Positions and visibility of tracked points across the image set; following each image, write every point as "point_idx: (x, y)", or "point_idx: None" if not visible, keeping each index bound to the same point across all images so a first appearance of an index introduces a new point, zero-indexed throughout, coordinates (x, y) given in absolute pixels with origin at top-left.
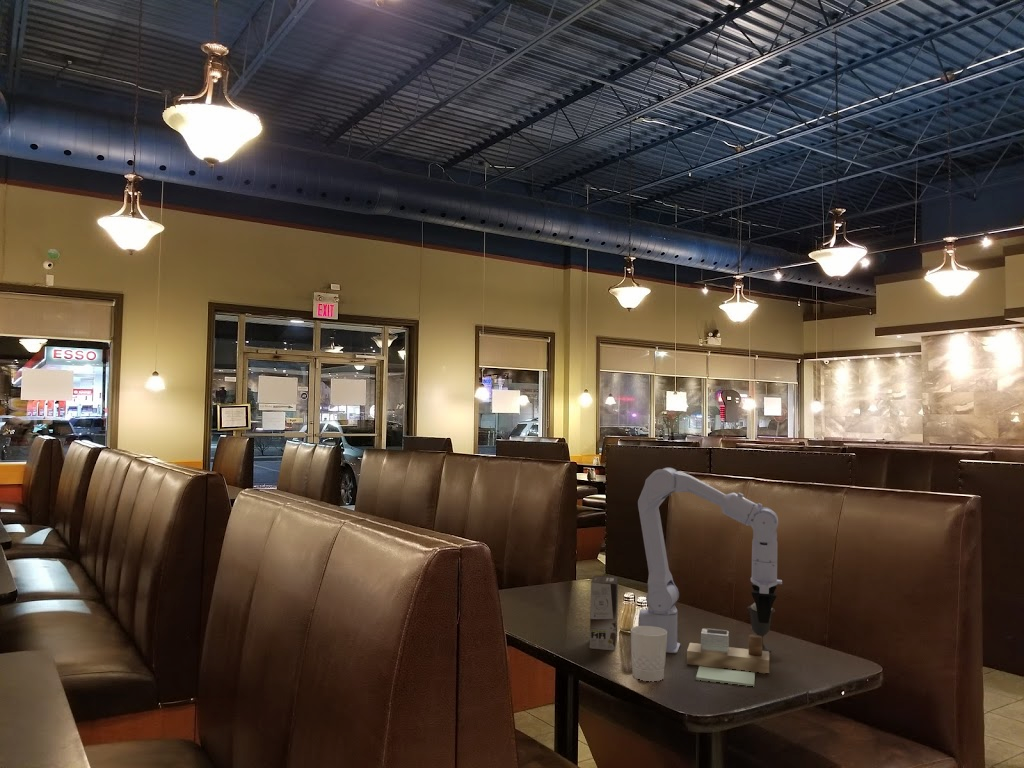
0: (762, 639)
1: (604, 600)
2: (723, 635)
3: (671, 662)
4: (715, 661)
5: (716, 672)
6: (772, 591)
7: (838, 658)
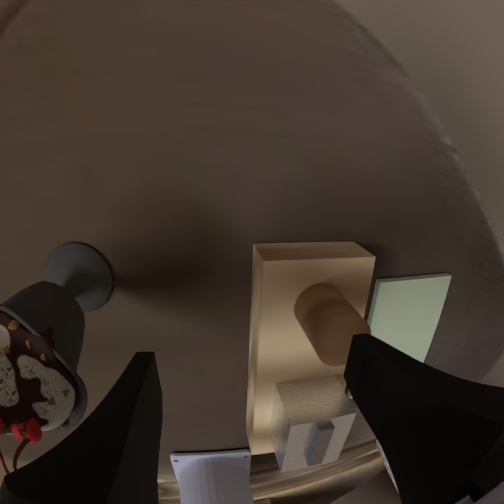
0: (67, 289)
1: None
2: (352, 422)
3: None
4: None
5: None
6: (120, 491)
7: (74, 8)
